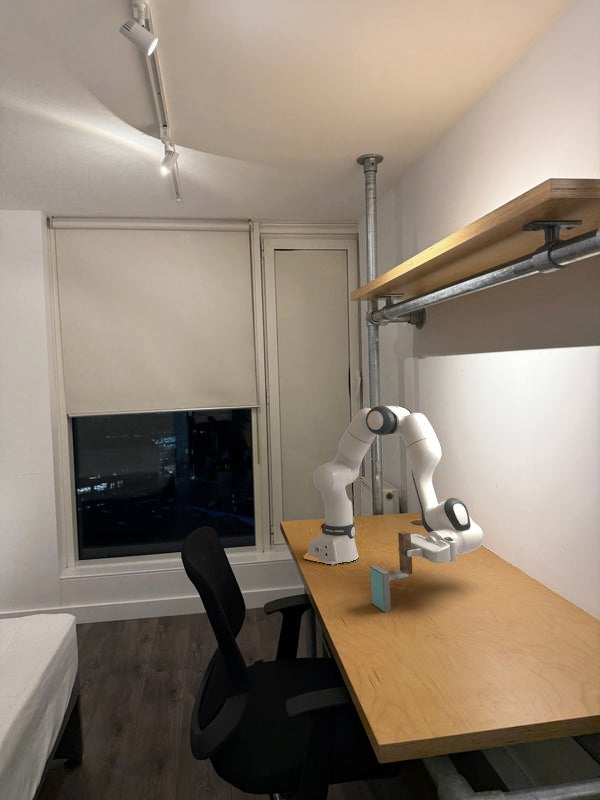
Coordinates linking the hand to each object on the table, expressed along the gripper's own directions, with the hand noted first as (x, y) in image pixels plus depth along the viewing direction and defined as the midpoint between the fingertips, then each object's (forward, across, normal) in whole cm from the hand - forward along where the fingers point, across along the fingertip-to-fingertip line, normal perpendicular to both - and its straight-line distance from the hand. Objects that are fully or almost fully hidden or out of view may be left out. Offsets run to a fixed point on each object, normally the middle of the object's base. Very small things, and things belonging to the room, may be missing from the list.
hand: (402, 551), depth 178 cm
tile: (+9, 0, +16) cm, 18 cm away
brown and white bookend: (+3, 0, +7) cm, 7 cm away
